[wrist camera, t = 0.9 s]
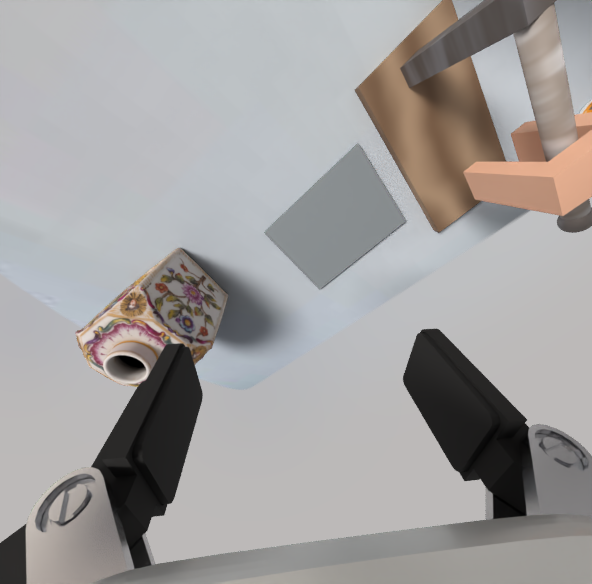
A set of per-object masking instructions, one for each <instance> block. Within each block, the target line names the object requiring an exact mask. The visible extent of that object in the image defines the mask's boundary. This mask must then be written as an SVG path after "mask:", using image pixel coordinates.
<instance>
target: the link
mask: <svg viewBox="0 0 592 584" xmlns="http://www.w3.org/2000/svg"><path fill="white" fill-rule="evenodd" d="M574 117H575V123H576V128H577V134H578V140H577V141H576V142H574V143H573V144H572V145H570V146H569V147H568V148H566V149H565V150H563V151H562V152H561V153H559V154H558V155H557V156H555V157H554V158H553V159H551V160H550V161H549V162H546V160H545V156H544V152H543V148H542V144H541V140H540V136H539V132H538V128H537V124H536V121H531V122H525V123H524V124H523V125H521V126H520V127H519V128H518V129H516V130H515V131H514V132H513V133H511V137H512V140H513V143H514V146H515V149H516V153H517V156H518V159H519V162H475V163H474V164H473V165H471V166H470V167H469V168H468V169H466V170H465V171H464V172H463V173H464V175H465V178H466V180H467V182H468V185H469V187H470V189H471V192H472V194H473V196H474V198H475V200H480V201H485V202H491V203H496V204H501V205H507V206H512V207H517V208H523V209H528V210H533V211H539V212H544V213H550V214H555V215H560V216H564V215H565V214H567V213H568V212H570V211H571V210H573V209H574V208H576V207H577V206H579V205H580V204H582V203H583V202H585V201H586V200H588V199H589V198H590V197H592V112H590V113H583V114H577V115H574Z"/></svg>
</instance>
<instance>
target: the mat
mask: <svg viewBox="0 0 592 584" xmlns="http://www.w3.org/2000/svg"><path fill="white" fill-rule="evenodd" d="M405 221H406V220H405V218H404V217H403V215H402V213H401V212H400V210H399V209H398V207H397V205H396V204H395V202H394V200H393V199H392V197H391V196H390V194H389V192H388V191H387V189H386V187H385V186H384V184H383V183H382V181H381V179H380V178H379V176H378V174H377V173H376V171H375V170H374V168H373V166H372V165H371V163H370V162H369V160H368V158H367V157H366V155H365V153H364V152H363V150H362V149H361V147H360V145H359V144H356V145H355V146H354V147H353V148H352V149H351V150H350V151H349V152H348V153H347V154H346V155H345V156H344V157H343V158H342V159H341V160H340V161H339V162H337V163H336V164H335V165H334V166H333V167H332V168H331V169H330V170H329V171H328V172H327V173H326V174H325V175H324V176H323V177H322V178H321V179H320V180H319V181H317V182H316V183H315V184H314V185H313V186H312V187H311V188H310V189H309V190H308V191H307V192H306V193H305V194H304V195H303V196H302V197H301V198H300V199H299V200H297V201H296V202H295V203H294V204H293V205H292V206H291V207H290V208H289V209H288V210H287V211H286V212H285V213H284V214H283V215H282V216H281V217H280V218H278V219H277V220H276V221H275V222H274V223H273V224H272V225H271V226H270V227H269V228H268V229H267V230H266V231H265V232H264V233H265V234H266V235H267V236H268V237H269V238H270V239H271V240H272V241H273V242H274V243H275V245H276V246H277V247H278V248H279V249H280V250H281V251H282V252H283V253H284V254H285V255H286V256H287V257H288V258H289V259H290V260H291V261H292V262H293V263H294V264H295V265H296V266H297V267H298V268H299V269H300V270H301V271H302V272H303V273H304V274H305V275H306V276H307V277H308V278H309V279H310V280H311V281H312V282H313V283H314V284H315V286H316V287H317V288H318V289H319V290H320V289H321V288H322V287H324V286H325V285H326V284H327V283H329V282H330V281H331V280H332V279H334V278H335V277H336V276H337V275H339V274H340V273H341V272H342V271H344V270H345V269H346V268H348V267H349V266H350V265H351V264H353V263H354V262H355V261H356V260H358V259H359V258H360V257H361V256H363V255H364V254H365V253H366V252H368V251H369V250H370V249H371V248H373V247H374V246H375V245H376V244H378V243H379V242H380V241H382V240H383V239H384V238H385V237H387V236H388V235H389V234H390V233H392V232H393V231H394V230H395V229H397V228H398V227H399V226H400V225H402V224H403V223H404V222H405Z"/></svg>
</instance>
